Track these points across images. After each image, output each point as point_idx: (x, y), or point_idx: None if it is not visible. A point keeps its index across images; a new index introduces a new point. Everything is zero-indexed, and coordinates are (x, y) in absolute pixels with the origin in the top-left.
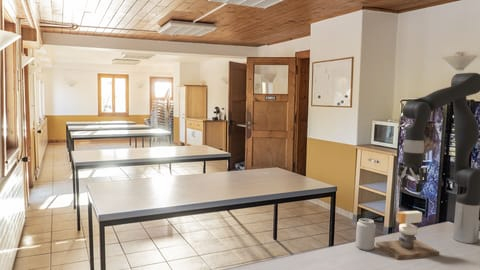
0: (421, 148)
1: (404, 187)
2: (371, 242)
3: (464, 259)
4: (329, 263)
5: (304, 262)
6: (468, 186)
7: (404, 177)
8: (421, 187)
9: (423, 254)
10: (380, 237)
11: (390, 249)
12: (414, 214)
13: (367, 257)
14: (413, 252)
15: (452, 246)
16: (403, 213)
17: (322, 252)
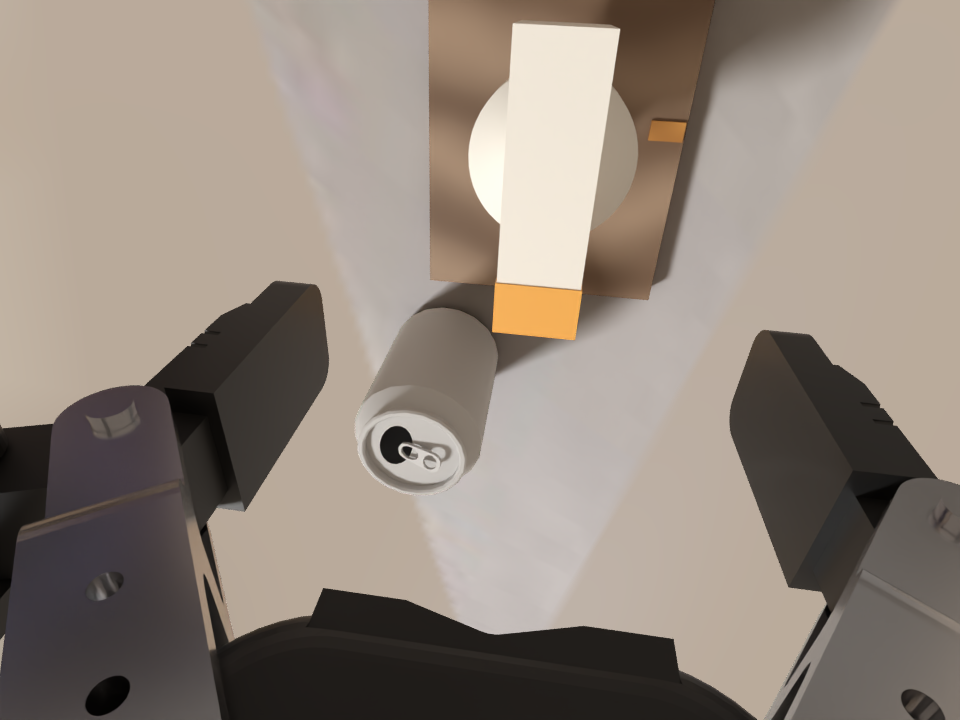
0: None
1: (324, 332)
2: (493, 375)
3: None
4: (562, 566)
5: (524, 620)
6: None
7: (197, 502)
8: (891, 444)
9: (693, 84)
10: (303, 133)
11: None
12: (599, 164)
13: (564, 412)
14: (654, 157)
15: None
16: (567, 310)
17: (457, 536)
